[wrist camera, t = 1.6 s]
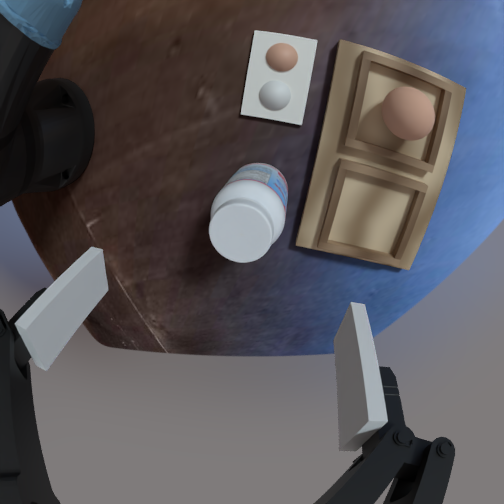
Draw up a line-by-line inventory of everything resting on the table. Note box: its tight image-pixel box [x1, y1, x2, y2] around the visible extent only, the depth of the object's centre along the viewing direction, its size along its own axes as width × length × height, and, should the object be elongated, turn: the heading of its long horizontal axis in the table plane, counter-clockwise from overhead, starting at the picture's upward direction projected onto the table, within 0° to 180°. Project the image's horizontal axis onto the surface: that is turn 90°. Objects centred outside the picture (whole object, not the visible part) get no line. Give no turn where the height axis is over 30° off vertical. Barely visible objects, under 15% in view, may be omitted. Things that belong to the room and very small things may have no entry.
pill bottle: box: [209, 163, 288, 263], centre depth 26 cm, size 6×6×11 cm
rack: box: [296, 39, 466, 270], centre depth 26 cm, size 14×22×2 cm, turn 171°
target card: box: [241, 30, 318, 125], centre depth 24 cm, size 6×9×1 cm, turn 171°
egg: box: [382, 87, 435, 141], centre depth 21 cm, size 5×5×5 cm
